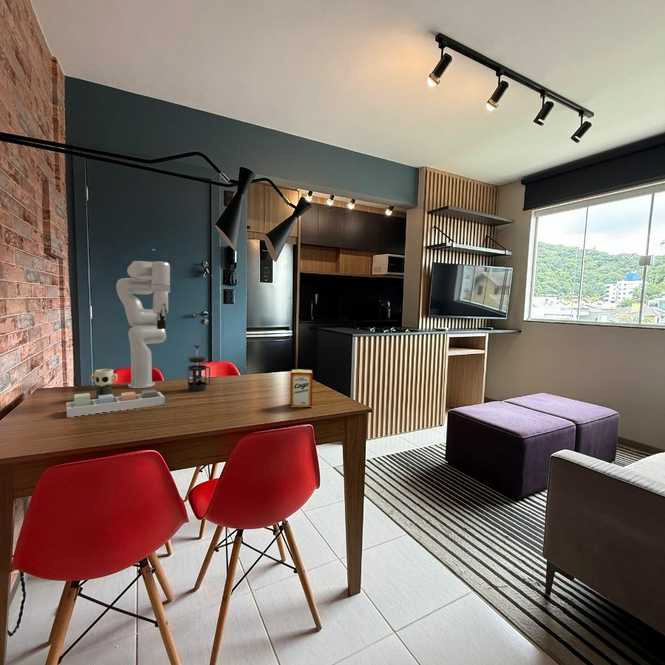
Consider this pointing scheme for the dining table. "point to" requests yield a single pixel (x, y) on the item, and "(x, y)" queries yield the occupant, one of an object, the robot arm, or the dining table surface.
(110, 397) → the key blue
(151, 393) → the key charcoal
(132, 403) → the keypad housing
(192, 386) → the french press
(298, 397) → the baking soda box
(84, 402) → the key sage
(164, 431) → the dining table surface
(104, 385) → the character mug
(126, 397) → the key terracotta
